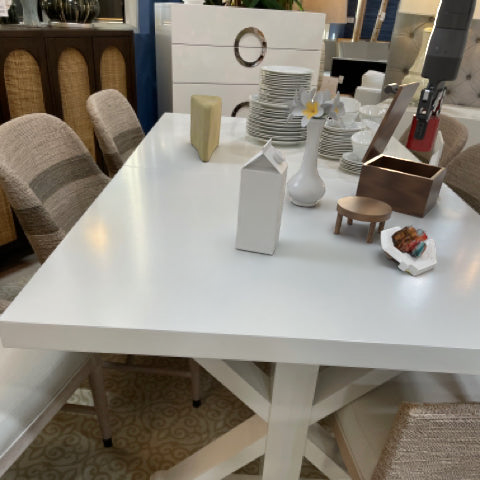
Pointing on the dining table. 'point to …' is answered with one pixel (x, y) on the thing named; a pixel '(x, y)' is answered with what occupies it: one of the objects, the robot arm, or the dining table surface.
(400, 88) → the lid
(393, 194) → the chest
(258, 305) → the dining table surface
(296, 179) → the flower vase
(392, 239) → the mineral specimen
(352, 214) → the stool
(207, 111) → the cheese
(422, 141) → the can
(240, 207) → the milk carton
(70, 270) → the dining table surface
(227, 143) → the dining table surface
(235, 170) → the dining table surface
